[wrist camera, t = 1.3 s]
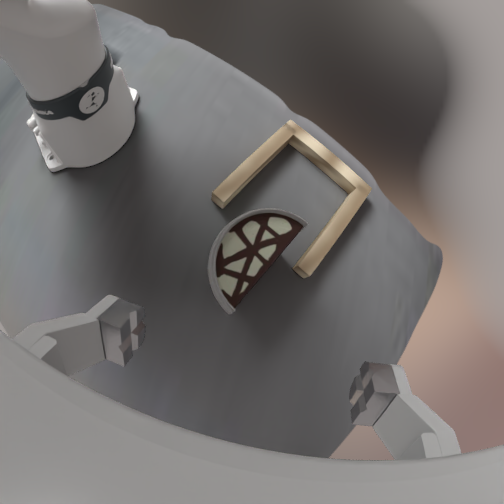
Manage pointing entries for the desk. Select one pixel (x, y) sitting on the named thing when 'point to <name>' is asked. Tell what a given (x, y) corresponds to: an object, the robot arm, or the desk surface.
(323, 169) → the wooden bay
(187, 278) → the desk surface
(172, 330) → the desk surface
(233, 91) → the desk surface
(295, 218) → the food container
